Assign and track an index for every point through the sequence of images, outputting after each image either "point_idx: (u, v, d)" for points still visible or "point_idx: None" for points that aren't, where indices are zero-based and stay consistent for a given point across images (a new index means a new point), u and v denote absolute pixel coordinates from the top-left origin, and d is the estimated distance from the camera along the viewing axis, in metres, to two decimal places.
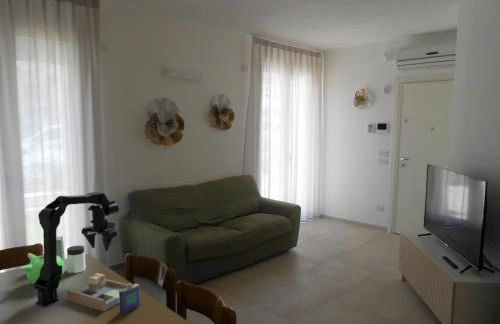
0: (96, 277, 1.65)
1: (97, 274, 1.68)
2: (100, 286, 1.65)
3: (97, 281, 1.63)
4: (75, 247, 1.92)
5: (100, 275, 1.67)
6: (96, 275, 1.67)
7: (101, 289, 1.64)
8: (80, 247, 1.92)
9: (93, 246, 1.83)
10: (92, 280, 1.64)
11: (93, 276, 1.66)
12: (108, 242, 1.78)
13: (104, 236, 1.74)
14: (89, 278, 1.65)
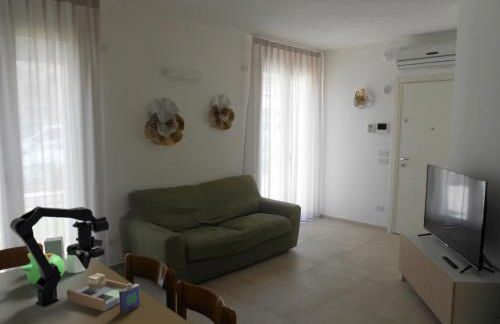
0: (96, 277, 1.65)
1: (97, 274, 1.68)
2: (100, 286, 1.65)
3: (97, 281, 1.63)
4: None
5: (100, 275, 1.67)
6: (96, 275, 1.67)
7: (101, 289, 1.64)
8: None
9: None
10: (92, 280, 1.64)
11: (93, 276, 1.66)
12: (88, 260, 1.68)
13: (90, 255, 1.62)
14: (89, 278, 1.65)
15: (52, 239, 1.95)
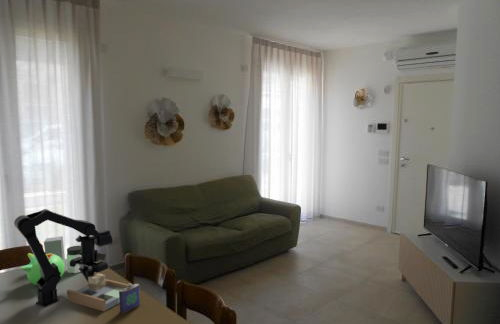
0: (96, 277, 1.65)
1: (97, 274, 1.68)
2: (100, 286, 1.65)
3: (97, 281, 1.63)
4: (75, 247, 1.92)
5: (100, 275, 1.67)
6: (96, 275, 1.67)
7: (101, 289, 1.64)
8: (80, 247, 1.92)
9: None
10: (92, 280, 1.64)
11: (93, 276, 1.66)
12: (91, 274, 1.68)
13: (94, 270, 1.62)
14: (89, 278, 1.65)
15: (52, 239, 1.95)
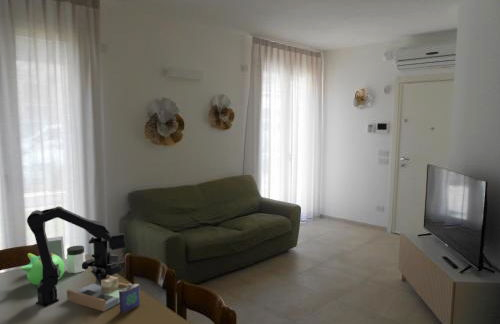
0: (109, 280, 1.61)
1: (110, 277, 1.64)
2: (113, 289, 1.62)
3: (110, 285, 1.60)
4: (75, 247, 1.92)
5: (113, 278, 1.63)
6: (108, 277, 1.64)
7: None
8: (80, 247, 1.92)
9: None
10: (105, 283, 1.61)
11: (106, 279, 1.62)
12: (104, 276, 1.64)
13: (107, 272, 1.59)
14: (102, 281, 1.61)
15: (52, 239, 1.95)
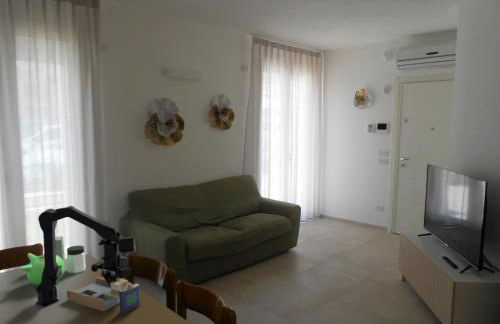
0: (119, 283, 1.58)
1: (119, 280, 1.61)
2: None
3: (120, 287, 1.57)
4: (75, 247, 1.92)
5: (123, 281, 1.60)
6: (118, 280, 1.61)
7: (101, 289, 1.64)
8: (80, 247, 1.92)
9: None
10: (115, 286, 1.57)
11: (115, 282, 1.59)
12: (114, 279, 1.61)
13: (117, 275, 1.56)
14: (111, 284, 1.58)
15: None
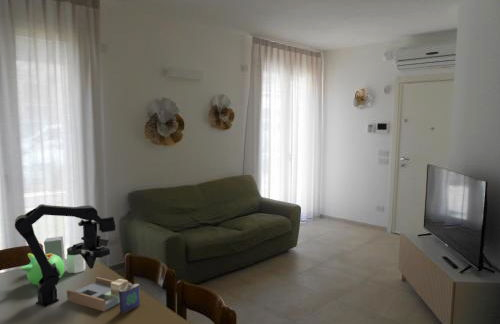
0: (119, 283, 1.58)
1: (119, 280, 1.61)
2: None
3: (120, 287, 1.57)
4: None
5: (123, 281, 1.60)
6: (118, 280, 1.61)
7: (101, 289, 1.64)
8: None
9: None
10: (115, 286, 1.57)
11: (115, 282, 1.59)
12: (93, 259, 1.65)
13: (95, 255, 1.59)
14: (111, 284, 1.58)
15: (52, 239, 1.95)
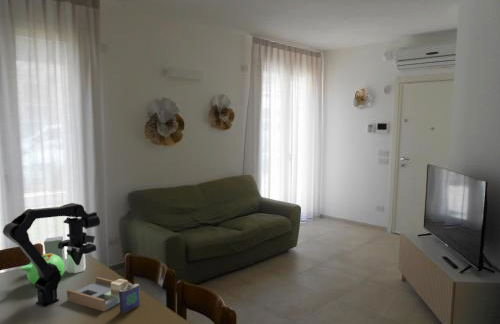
0: (119, 283, 1.58)
1: (119, 280, 1.61)
2: None
3: (120, 287, 1.57)
4: None
5: (123, 281, 1.60)
6: (118, 280, 1.61)
7: (101, 289, 1.64)
8: None
9: None
10: (115, 286, 1.57)
11: (115, 282, 1.59)
12: (79, 256, 1.67)
13: (81, 251, 1.61)
14: (111, 284, 1.58)
15: (52, 239, 1.95)
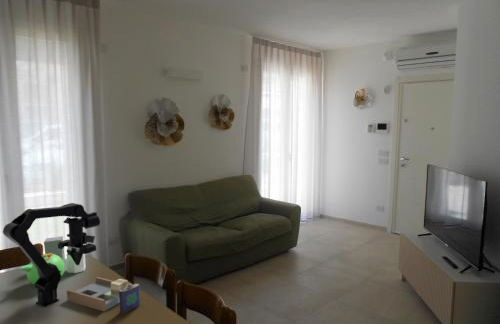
0: (119, 283, 1.58)
1: (119, 280, 1.61)
2: None
3: (120, 287, 1.57)
4: None
5: (123, 281, 1.60)
6: (118, 280, 1.61)
7: (101, 289, 1.64)
8: None
9: None
10: (115, 286, 1.57)
11: (115, 282, 1.59)
12: (79, 256, 1.67)
13: (81, 251, 1.61)
14: (111, 284, 1.58)
15: (52, 239, 1.95)
